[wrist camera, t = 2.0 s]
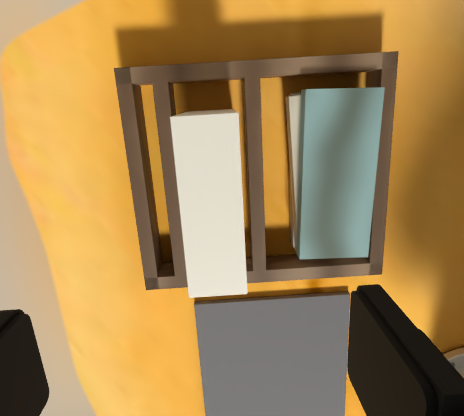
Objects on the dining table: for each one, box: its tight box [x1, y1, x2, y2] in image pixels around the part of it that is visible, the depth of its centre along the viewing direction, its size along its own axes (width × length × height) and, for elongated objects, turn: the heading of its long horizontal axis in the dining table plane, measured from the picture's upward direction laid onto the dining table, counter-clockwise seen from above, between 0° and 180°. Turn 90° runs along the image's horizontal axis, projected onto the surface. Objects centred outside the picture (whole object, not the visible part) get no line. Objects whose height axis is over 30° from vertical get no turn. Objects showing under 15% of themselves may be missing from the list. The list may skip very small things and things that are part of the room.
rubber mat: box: [194, 291, 350, 416], centre depth 39 cm, size 16×16×1 cm
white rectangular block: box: [170, 109, 247, 298], centre depth 28 cm, size 4×12×11 cm, turn 3°
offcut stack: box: [285, 87, 385, 259], centre depth 31 cm, size 7×14×4 cm, turn 3°
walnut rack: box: [114, 51, 398, 290], centre depth 31 cm, size 22×19×3 cm
